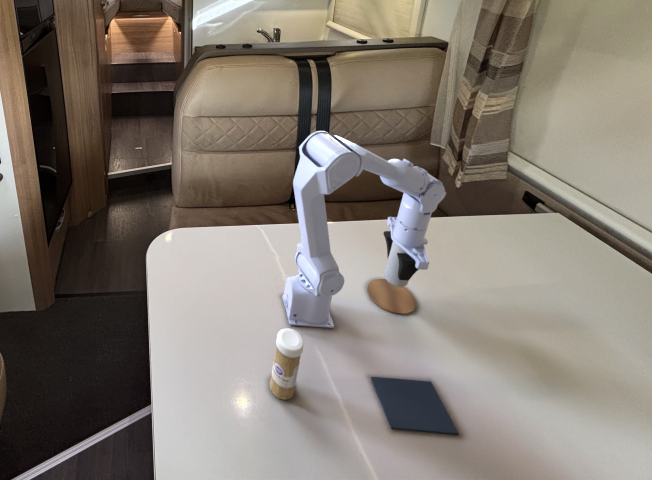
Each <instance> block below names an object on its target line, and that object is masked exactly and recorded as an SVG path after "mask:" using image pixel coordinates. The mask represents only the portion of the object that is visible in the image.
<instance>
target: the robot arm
mask: <svg viewBox="0 0 652 480" xmlns="http://www.w3.org/2000/svg"><path fill="white" fill-rule="evenodd" d="M298 149H299V150H298V151H299V161H298V164H297V168H296V170H295V172H294V173H295V174H294V176H293V180H292V187H293V193H294V199H295V206H296V212H297V220H298V226H299V233H300V239H301V240H300V242H298V243H297V244H296V252H295V255H294V262H295V264H296V265H297V266H298V271H297V272H298V274H296V275H292V276H287V277H286V278H285V284H284V291H283V294H282V301H283V304H284V309H285V312H286V316H287V320H288V323H289V325H291V326H299V327H313V328H327V329H334V328H335V324H334V321H333V319H332V316H331V313H330V308H331V304H332V298H333V296H335V295H337V294H338V293H340V291H341V290H342V289H343V287H344V285H345V276H344V275H343V274H342V273H341V272H340V269H339V268H340V267H339V265H338V263H337V261H336V259H335V258H334V255H333V254H332V250H331V243H330V242H331V241H330V234H329V225H328V224H329V223H328V216H327V209H326V208H327V207H326V200H325V195H331V194H332V193H333V192H335V191H336V190H338V189H339V188H341V187H342V186H344V184H346V183H347V182H349V181H350V180H351V179H353V178H354V177H360V175H361V173H362V172H363V171H367V172H369V173H372V174H373V175H377V176H379V178H380V180H381V182H382V183H383V185H386V186H387V187H390V188H392V189H394V190H396V191H398V192H401V193H403V194H402V198H401V201H400V205H399V209H398V212H397V216H387V220H386V224H387V226H388V227H389V229H390V230H385V231H383V233H382V235H383V236H384V239H385V245H386V255H387V256H386V257H387V259H388V258H389V254H390V250H391V247H392V243H393V241H394V242H395V243H396V244H397V245H398V246H399V247H400V248H401V249H403V250H404V251H405V252H406V253H407V254H406V253H397V256H398V259H399V270H398V278H399V280H407V281H408V282H409V281H410V280H411V278H412V277H413V276H414V275H415V274H416V272H418V271H420V270H428V268H429V265H430V261H429V260H428V257H427V252H426V248H425V245H428V244H429V241H428V240H427V238H426V237H425V236H426V233H427V230H428V227H429V224H430V221H431V217H432V215H433V213H434V212H435V211H436V210H437V208H438V205H439V204H440V203H441V202H442V201H443V200H444V198H445V197H446V195H447V191H446V188H445V186H444V184H443V182H442V181H441V180H439V179H437V178H436V177H434V176H433V175H431V173H429V172H428V171H427V170H426V169H425V168H423V167H420V166H418V165H416V166H414V163H413V162H412V161H409V160H408V159H406V158H403V159H402V160H401V159H398V158H391V159H389V160H386V159H385V158H383V157H381V156H379V155H377V154H376V153H373V152H372V151H370V150H368V149H367V148H364V147H362V146H360V145H359V144H357V143H354V142H352V141H351V140H348V139H346V138H345V137H344V138H343V137H342V136H339V135H336V134H332V135H331V134H330V133H329V132H328V131H325V130H316V131H314V132H312V133H310V134H309V135H308V136H307V137H306V138H305V140H304V141H302V143H301V144H300V145H299V146H298Z"/></svg>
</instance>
